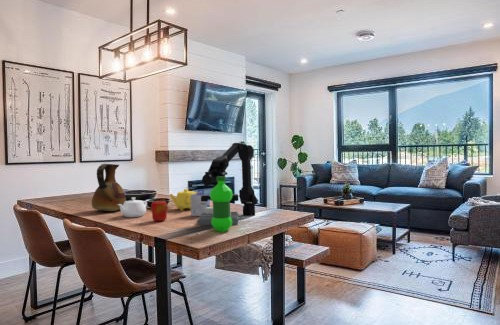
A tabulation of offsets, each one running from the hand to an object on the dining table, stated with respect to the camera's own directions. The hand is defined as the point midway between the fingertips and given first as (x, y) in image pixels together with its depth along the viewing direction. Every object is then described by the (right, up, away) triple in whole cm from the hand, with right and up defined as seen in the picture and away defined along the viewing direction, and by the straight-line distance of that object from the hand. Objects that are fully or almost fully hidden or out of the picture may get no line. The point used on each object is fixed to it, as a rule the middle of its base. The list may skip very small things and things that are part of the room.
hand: (220, 214), depth 180 cm
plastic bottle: (+2, -5, -15) cm, 16 cm away
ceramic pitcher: (-73, -4, +42) cm, 85 cm away
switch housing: (-1, -4, +5) cm, 6 cm away
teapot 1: (-52, -5, +23) cm, 57 cm away
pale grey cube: (+3, -2, 0) cm, 4 cm away
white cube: (-6, -2, +9) cm, 11 cm away
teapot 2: (-25, -3, +43) cm, 50 cm away
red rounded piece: (-33, -5, +8) cm, 34 cm away
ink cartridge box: (-13, -4, +23) cm, 26 cm away
